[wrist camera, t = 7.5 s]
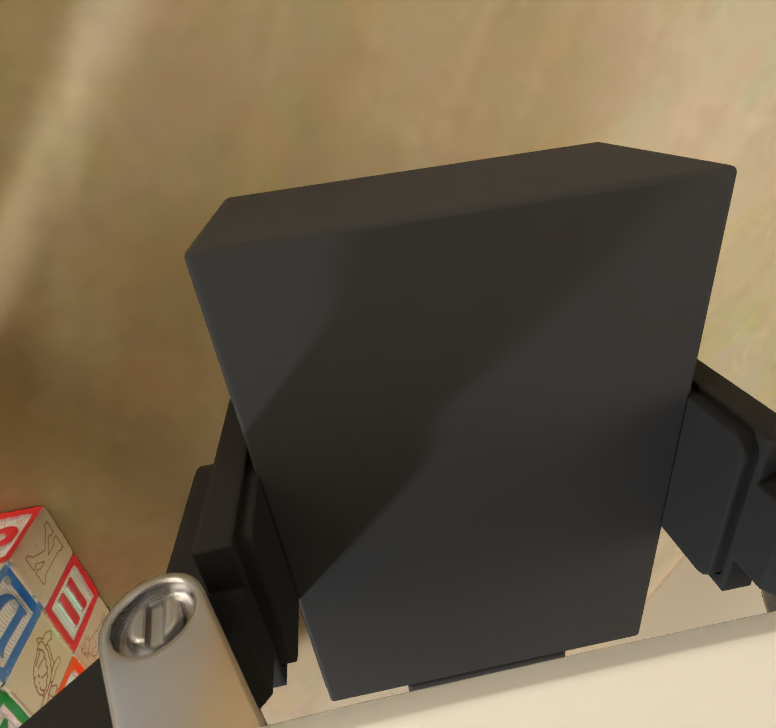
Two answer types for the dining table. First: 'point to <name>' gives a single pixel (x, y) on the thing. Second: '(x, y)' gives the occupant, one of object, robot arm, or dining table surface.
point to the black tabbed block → (466, 396)
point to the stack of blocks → (42, 614)
